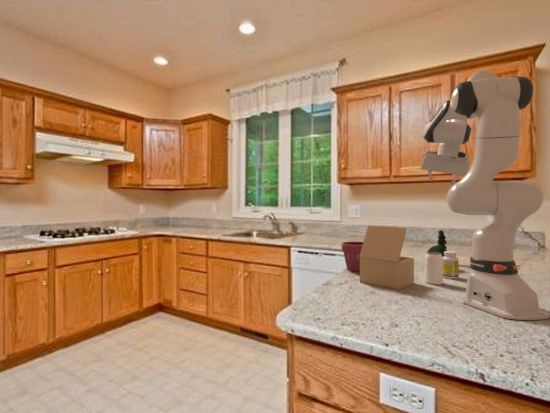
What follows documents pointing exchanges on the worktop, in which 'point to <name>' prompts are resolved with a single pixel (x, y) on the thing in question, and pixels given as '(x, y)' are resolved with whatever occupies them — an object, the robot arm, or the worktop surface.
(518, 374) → the worktop surface
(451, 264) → the pill bottle
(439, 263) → the can
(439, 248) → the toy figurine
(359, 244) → the plant pot
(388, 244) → the flap
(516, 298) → the robot arm
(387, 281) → the carton
